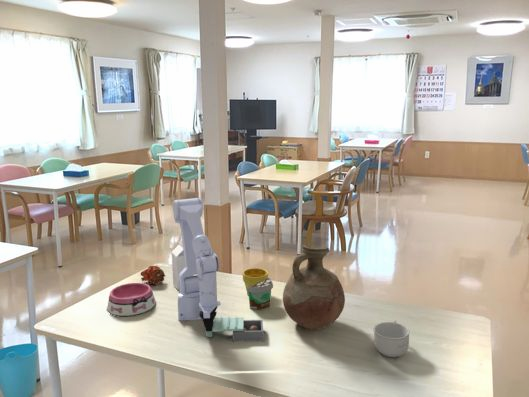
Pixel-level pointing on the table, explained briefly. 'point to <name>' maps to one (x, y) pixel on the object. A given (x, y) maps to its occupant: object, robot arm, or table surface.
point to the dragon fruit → (153, 275)
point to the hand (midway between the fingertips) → (209, 328)
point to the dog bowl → (131, 300)
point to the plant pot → (254, 276)
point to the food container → (260, 294)
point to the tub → (249, 332)
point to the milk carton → (177, 264)
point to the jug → (313, 291)
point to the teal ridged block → (226, 325)
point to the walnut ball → (253, 328)
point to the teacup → (391, 338)
